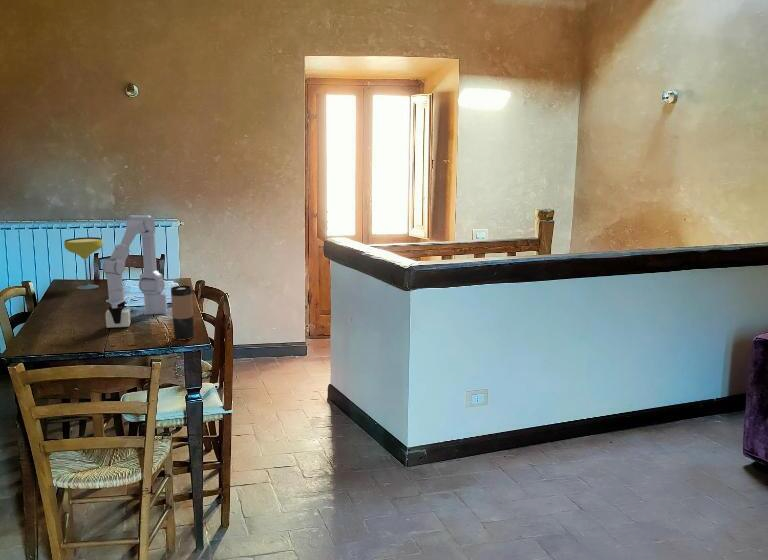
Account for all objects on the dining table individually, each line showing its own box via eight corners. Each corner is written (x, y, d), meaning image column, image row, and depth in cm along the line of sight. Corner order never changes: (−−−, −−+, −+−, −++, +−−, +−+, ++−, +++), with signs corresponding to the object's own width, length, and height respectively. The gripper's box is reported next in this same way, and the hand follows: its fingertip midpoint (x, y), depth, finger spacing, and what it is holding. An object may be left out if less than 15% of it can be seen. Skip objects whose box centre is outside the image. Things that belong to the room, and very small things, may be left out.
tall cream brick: (130, 322, 292) (129, 308, 291) (128, 326, 286) (127, 312, 285) (108, 323, 290) (107, 309, 289) (106, 327, 284) (105, 313, 283)
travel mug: (198, 336, 274) (195, 286, 269) (187, 341, 266) (183, 290, 262) (181, 334, 276) (178, 285, 272) (170, 339, 269) (166, 289, 265)
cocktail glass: (72, 284, 370) (67, 238, 365) (108, 283, 374) (104, 236, 369) (65, 292, 353) (60, 243, 348) (103, 290, 357) (99, 241, 352)
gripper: (107, 285, 291) (110, 317, 294) (102, 293, 277) (105, 326, 280) (125, 285, 292) (128, 316, 295) (121, 292, 279) (124, 325, 281)
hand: (118, 321), depth 288 cm, fingers closed on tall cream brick, 6 cm apart
